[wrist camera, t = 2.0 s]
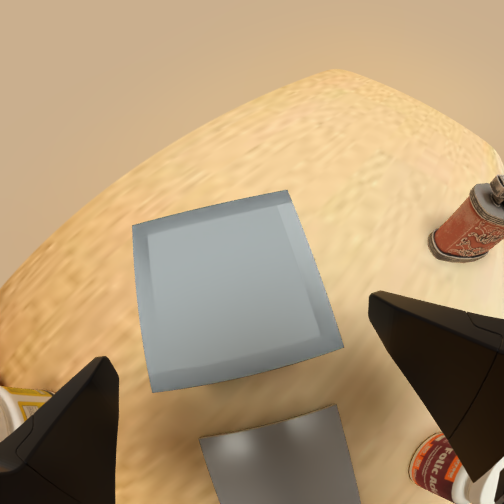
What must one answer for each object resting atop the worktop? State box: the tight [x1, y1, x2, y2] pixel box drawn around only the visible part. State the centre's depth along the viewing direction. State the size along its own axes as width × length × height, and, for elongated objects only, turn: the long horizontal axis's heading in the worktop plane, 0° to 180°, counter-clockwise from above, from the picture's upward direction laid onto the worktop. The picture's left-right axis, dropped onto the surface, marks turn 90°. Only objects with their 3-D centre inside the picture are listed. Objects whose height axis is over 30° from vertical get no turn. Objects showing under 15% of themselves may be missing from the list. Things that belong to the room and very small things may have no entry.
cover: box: [132, 190, 344, 393], centre depth 13 cm, size 6×6×10 cm
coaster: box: [199, 404, 361, 504], centre depth 13 cm, size 9×9×1 cm
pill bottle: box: [409, 433, 504, 504], centre depth 9 cm, size 5×5×8 cm
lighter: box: [428, 175, 504, 263], centre depth 16 cm, size 8×3×10 cm, turn 90°
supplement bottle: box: [0, 386, 55, 442], centre depth 10 cm, size 5×5×8 cm
